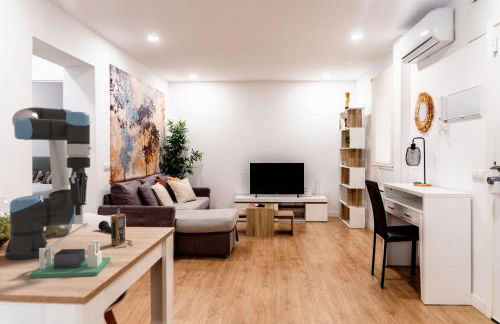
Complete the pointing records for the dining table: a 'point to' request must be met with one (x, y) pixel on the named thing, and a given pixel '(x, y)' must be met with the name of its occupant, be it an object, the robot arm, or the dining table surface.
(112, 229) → the multimeter
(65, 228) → the ceramic sculpture
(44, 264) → the circuit board
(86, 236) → the dining table surface
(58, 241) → the clamp bar
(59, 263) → the heat sink
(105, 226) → the microphone
